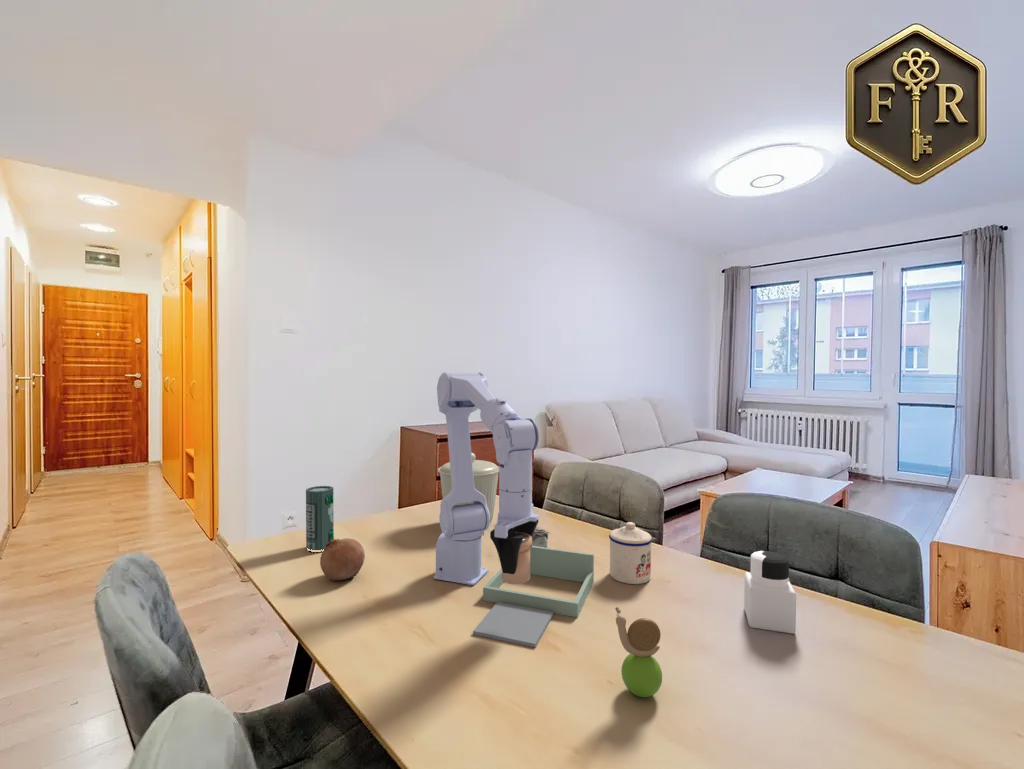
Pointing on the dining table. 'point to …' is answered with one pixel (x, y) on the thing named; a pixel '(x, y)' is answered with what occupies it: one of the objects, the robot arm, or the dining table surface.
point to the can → (319, 517)
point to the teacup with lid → (630, 554)
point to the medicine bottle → (770, 593)
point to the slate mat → (514, 624)
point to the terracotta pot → (521, 563)
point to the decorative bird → (540, 537)
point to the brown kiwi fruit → (342, 559)
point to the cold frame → (548, 565)
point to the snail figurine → (640, 655)
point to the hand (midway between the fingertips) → (515, 565)
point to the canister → (475, 481)
